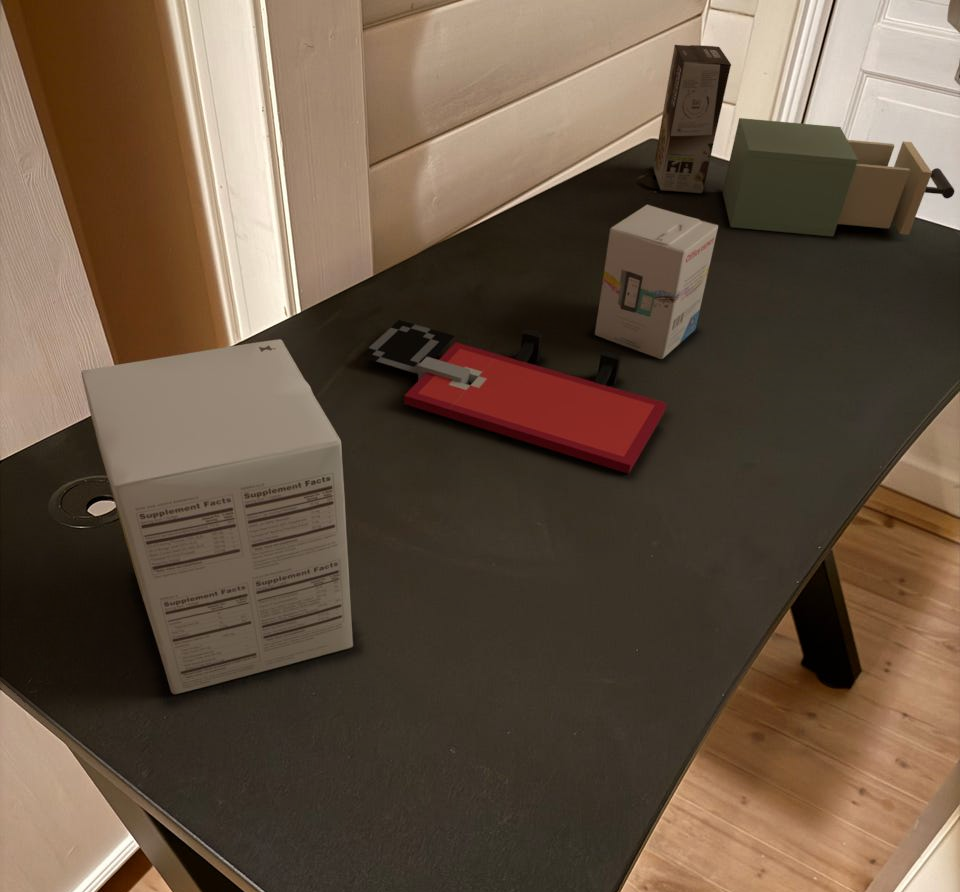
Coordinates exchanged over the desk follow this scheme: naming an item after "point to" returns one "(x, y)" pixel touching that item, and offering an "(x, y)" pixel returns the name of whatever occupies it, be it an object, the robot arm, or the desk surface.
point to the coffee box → (690, 117)
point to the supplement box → (227, 508)
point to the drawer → (889, 186)
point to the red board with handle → (523, 395)
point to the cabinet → (788, 177)
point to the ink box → (654, 280)
